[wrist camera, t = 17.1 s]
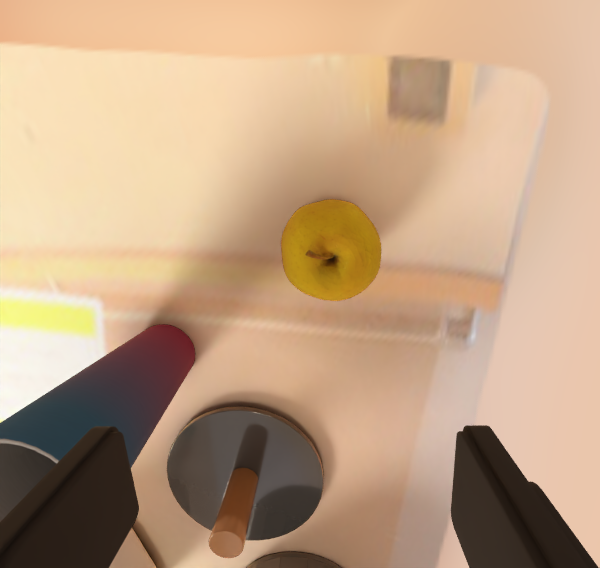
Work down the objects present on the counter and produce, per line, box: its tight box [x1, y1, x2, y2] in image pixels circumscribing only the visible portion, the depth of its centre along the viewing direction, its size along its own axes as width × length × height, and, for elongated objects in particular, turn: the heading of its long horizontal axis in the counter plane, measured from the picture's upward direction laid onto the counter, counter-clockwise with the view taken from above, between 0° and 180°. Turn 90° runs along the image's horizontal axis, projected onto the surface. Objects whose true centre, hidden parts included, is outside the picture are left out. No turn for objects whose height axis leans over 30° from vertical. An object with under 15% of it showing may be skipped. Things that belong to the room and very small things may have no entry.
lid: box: [167, 406, 324, 558], centre depth 29 cm, size 14×14×7 cm
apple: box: [281, 199, 381, 301], centre depth 23 cm, size 6×6×8 cm
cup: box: [0, 324, 195, 522], centre depth 23 cm, size 7×7×15 cm
